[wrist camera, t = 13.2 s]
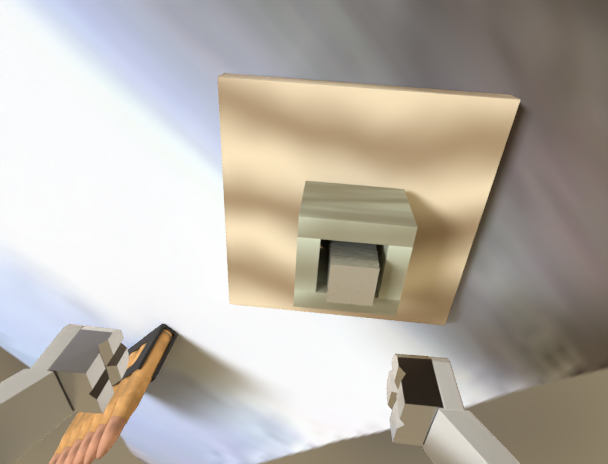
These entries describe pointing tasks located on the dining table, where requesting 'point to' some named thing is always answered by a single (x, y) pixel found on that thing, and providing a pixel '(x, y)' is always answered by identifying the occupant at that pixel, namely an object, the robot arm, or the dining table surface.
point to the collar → (353, 228)
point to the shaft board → (355, 182)
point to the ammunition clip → (116, 402)
